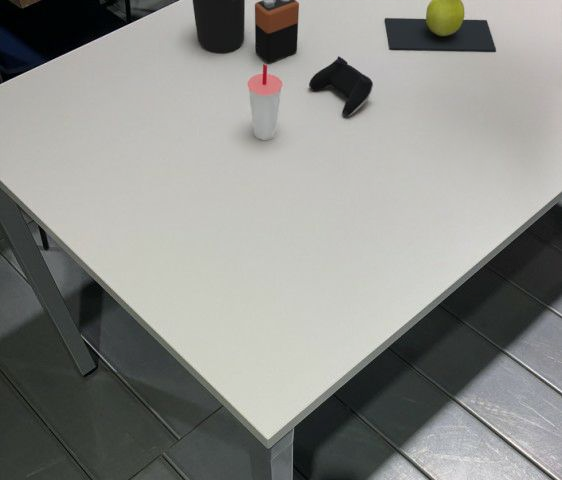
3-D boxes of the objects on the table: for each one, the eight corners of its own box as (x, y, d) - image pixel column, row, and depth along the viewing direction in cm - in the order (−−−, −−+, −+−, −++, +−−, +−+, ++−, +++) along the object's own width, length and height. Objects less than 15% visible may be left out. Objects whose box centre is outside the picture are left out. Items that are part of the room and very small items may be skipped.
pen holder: (248, 53, 114) (247, -3, 106) (197, 56, 113) (192, 0, 105) (243, 24, 119) (241, -32, 110) (194, 27, 118) (188, -29, 110)
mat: (486, 22, 121) (486, 19, 121) (495, 51, 116) (496, 49, 116) (384, 19, 121) (384, 17, 121) (389, 49, 116) (389, 47, 115)
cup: (266, 118, 105) (266, 50, 94) (287, 134, 103) (290, 66, 92) (242, 132, 103) (239, 64, 92) (263, 148, 101) (263, 80, 90)
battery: (254, 53, 114) (253, -4, 106) (284, 41, 116) (285, -15, 108) (267, 65, 112) (267, 8, 104) (298, 53, 115) (300, -3, 106)
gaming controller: (356, 125, 108) (382, 89, 105) (345, 116, 104) (372, 78, 101) (316, 93, 112) (340, 58, 109) (304, 83, 108) (329, 46, 105)
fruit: (427, 45, 116) (443, -23, 106) (417, 25, 120) (432, -44, 109) (462, 43, 117) (481, -26, 107) (452, 22, 120) (469, -46, 110)
